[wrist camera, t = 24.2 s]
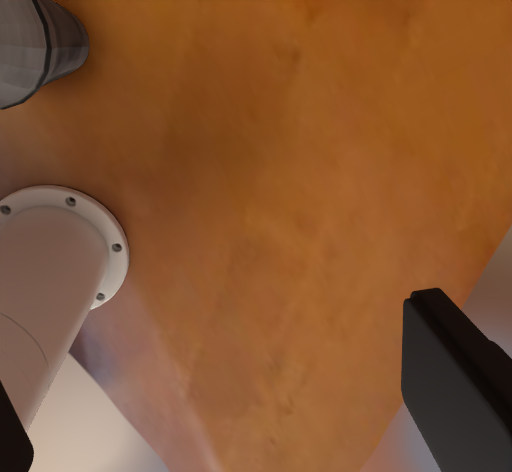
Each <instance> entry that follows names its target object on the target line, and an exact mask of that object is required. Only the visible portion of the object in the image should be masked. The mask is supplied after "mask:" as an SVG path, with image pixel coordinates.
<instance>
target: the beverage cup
mask: <svg viewBox="0 0 512 472" xmlns="http://www.w3.org/2000/svg"><path fill="white" fill-rule="evenodd" d="M88 52H89V39H88V35H87V32H86V30H85V28H84V26H83V24H82V23H81V22H80V21H79V19H78V18H77V17H76V16H74V15H73V14H72V13H70V12H69V11H68V10H66V9H65V8H64V7H62V6H61V5H59V4H57V3H55V2H54V1H52V0H0V109H7V108H10V107H13V106H16V105H19V104H22V103H24V102H25V101H26V100H28V99H29V98H30V97H31V96H33V95H34V94H35V93H36V92H37V91H39V89H40V87H41V86H44V85H46V84H48V83H50V82H52V81H55V80H57V79H59V78H61V77H64V76H66V75H68V74H70V73H72V72H73V71H74V70H77V69H78V68H79V67H80V66H81V65H83V63H84V62H85V60H86V58H87V56H88Z"/></svg>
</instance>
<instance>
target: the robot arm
mask: <svg viewBox="0 0 512 472" xmlns="http://www.w3.org/2000/svg"><path fill="white" fill-rule="evenodd" d="M71 197H72V198H74V199H75V201H73V200H72V199H71ZM8 207H9V208H8ZM116 243H118V244H120V245H121V246H118V245H117V244H116ZM128 266H129V247H128V242H127V238H126V236H125V234H124V231H123V229H122V227H121V226H120V224H119V223H118V221H117V220H116V218H115V217H114V216H113V215H112V214H111V213H110V212H109V211H108V210H107V209H106V208H105V207H104V206H103V205H102V204H100V203H99V202H97V201H96V200H95V199H93V198H92V197H90V196H88V195H86V194H84V193H82V192H80V191H76V190H73V189H70V188H67V187H61V186H54V185H37V186H32V187H28V188H23V189H21V190H19V191H16V192H14V193H12V194H10V195H9V196H7V197H6V198H4V199H3V200H1V201H0V472H28V471H29V469H30V467H31V464H32V462H33V457H34V450H33V446H32V444H31V442H30V440H29V438H28V436H27V431H28V429H29V427H30V425H31V423H32V421H33V419H34V416H35V415H36V413H37V411H38V409H39V407H40V405H41V403H42V401H43V399H44V398H45V396H46V394H47V392H48V390H49V388H50V386H51V384H52V382H53V380H54V378H55V376H56V374H57V372H58V370H59V368H60V367H61V365H62V363H63V360H64V359H65V357H66V355H67V353H68V351H69V349H70V347H71V345H72V343H73V341H74V339H75V337H76V335H77V333H78V331H79V329H80V327H81V326H82V324H83V322H84V320H85V318H86V316H87V314H88V312H89V310H91V309H94V308H96V307H99V306H100V305H102V304H103V303H105V302H106V301H108V300H109V299H110V298H111V297H112V296H113V295H114V294H115V293H116V292H117V291H118V289H119V288H120V286H121V285H122V283H123V281H124V279H125V276H126V274H127V270H128ZM401 391H402V396H403V399H404V402H405V404H406V406H407V408H408V410H409V412H410V414H411V416H412V417H413V419H414V421H415V423H416V425H417V427H418V429H419V431H420V432H421V434H422V436H423V438H424V440H425V442H426V443H427V445H428V447H429V449H430V451H431V453H432V455H433V457H434V459H435V460H436V462H437V464H438V466H439V468H440V470H441V472H512V359H511V358H510V357H509V356H508V355H507V354H506V353H505V352H504V350H503V349H502V348H500V346H498V345H497V344H496V343H495V342H493V341H490V340H488V338H487V337H486V336H485V335H484V334H483V333H482V332H481V331H480V330H479V329H478V328H477V327H476V326H475V325H474V324H473V323H472V322H471V321H470V319H469V318H468V317H467V316H466V315H465V314H464V313H463V312H462V311H461V310H460V309H459V308H458V307H457V306H456V305H455V304H454V303H453V302H452V300H451V299H450V298H449V297H448V296H447V295H446V294H445V293H444V292H443V291H442V290H441V289H439V288H432V289H425V290H419V291H413V292H412V293H411V296H410V298H409V299H405V300H404V304H403V338H402V375H401Z"/></svg>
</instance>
